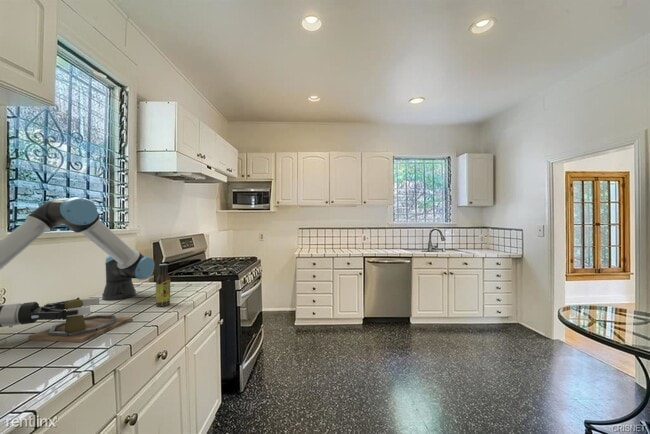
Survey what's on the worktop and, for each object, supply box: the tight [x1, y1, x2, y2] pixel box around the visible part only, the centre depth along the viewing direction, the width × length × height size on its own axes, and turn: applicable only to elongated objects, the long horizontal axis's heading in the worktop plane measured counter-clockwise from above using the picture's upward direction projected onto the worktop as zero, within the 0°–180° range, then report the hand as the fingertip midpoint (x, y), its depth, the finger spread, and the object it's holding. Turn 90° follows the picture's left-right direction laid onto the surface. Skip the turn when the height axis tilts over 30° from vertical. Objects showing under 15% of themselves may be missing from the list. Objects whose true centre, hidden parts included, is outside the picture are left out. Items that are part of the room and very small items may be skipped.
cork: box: [64, 298, 86, 332], centre depth 110 cm, size 6×6×11 cm
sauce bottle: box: [155, 263, 171, 307], centre depth 145 cm, size 6×6×20 cm
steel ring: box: [49, 314, 116, 336], centre depth 114 cm, size 19×19×1 cm
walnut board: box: [27, 314, 133, 343], centre depth 114 cm, size 22×22×1 cm
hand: (94, 305), depth 116 cm, fingers open, 13 cm apart
